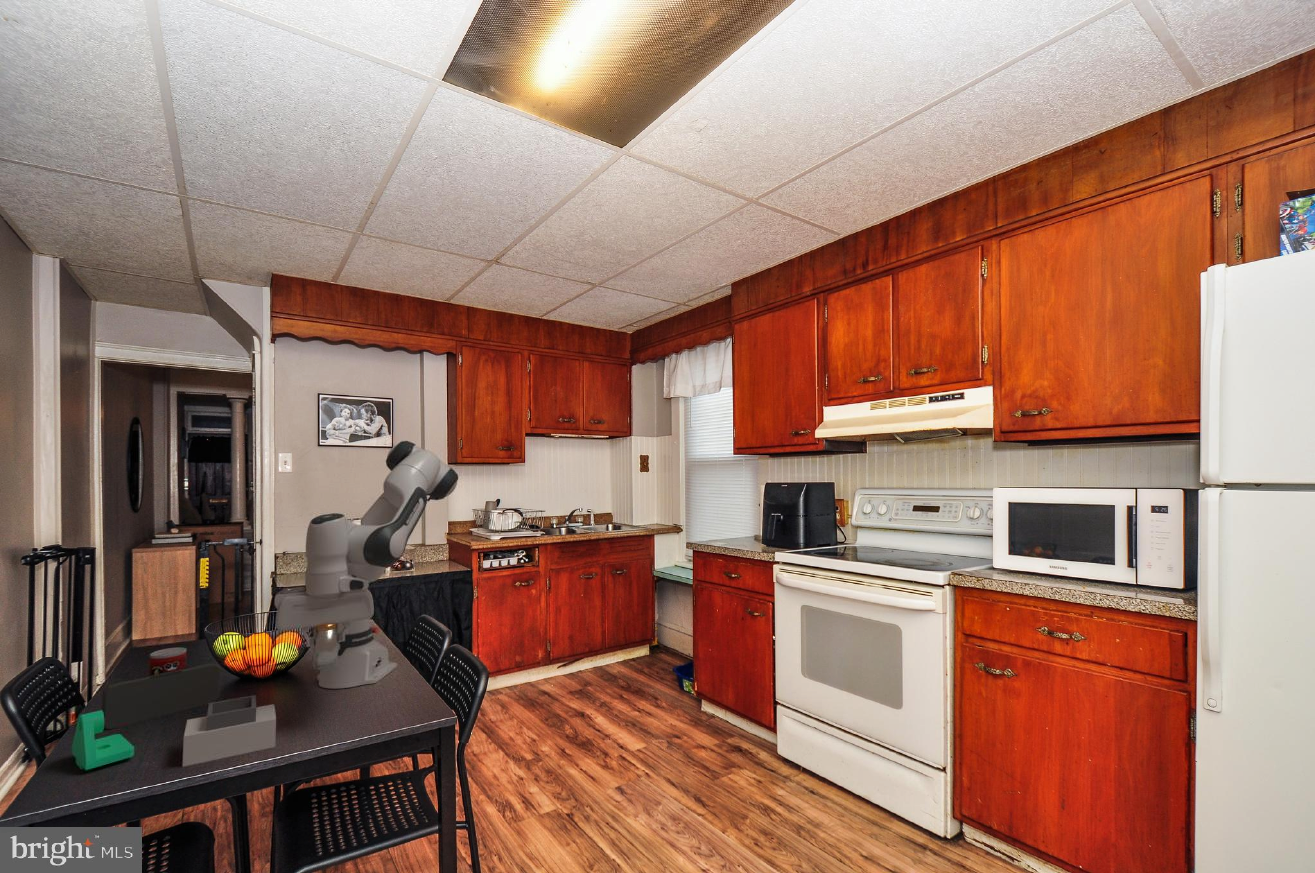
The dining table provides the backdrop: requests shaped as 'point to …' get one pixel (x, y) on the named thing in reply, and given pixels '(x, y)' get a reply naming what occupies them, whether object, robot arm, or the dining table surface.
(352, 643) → the robot arm
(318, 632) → the glass jar
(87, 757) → the camera mount
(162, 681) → the handheld gaming console
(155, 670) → the canned food
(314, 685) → the dining table surface
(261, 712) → the grey pedestal block
